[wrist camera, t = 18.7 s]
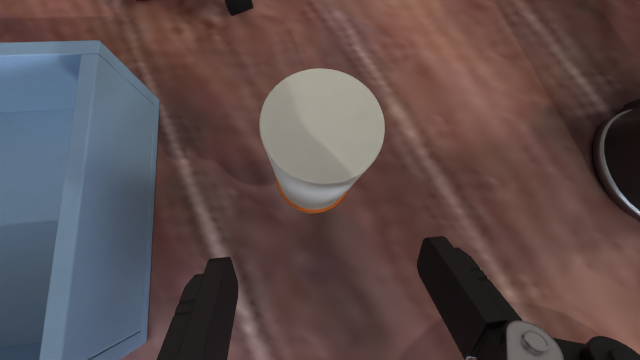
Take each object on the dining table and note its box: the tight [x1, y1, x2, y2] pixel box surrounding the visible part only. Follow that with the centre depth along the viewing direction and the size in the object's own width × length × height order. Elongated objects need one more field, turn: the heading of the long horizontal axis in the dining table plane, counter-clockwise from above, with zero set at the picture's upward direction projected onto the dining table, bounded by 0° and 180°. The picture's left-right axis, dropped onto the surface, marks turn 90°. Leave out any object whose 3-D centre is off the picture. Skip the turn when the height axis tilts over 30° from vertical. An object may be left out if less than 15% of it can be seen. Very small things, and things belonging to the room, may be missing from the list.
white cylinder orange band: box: [259, 68, 385, 213], centre depth 13 cm, size 5×5×9 cm
